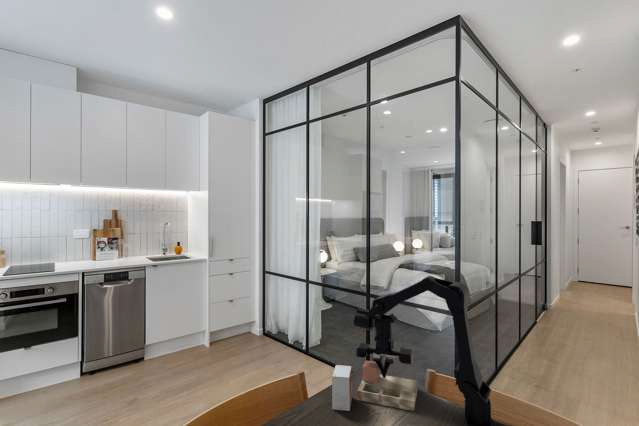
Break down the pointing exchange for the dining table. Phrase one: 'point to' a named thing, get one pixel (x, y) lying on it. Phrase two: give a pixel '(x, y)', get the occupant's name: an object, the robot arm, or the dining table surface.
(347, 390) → the small box
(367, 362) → the block
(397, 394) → the beige divided tray
